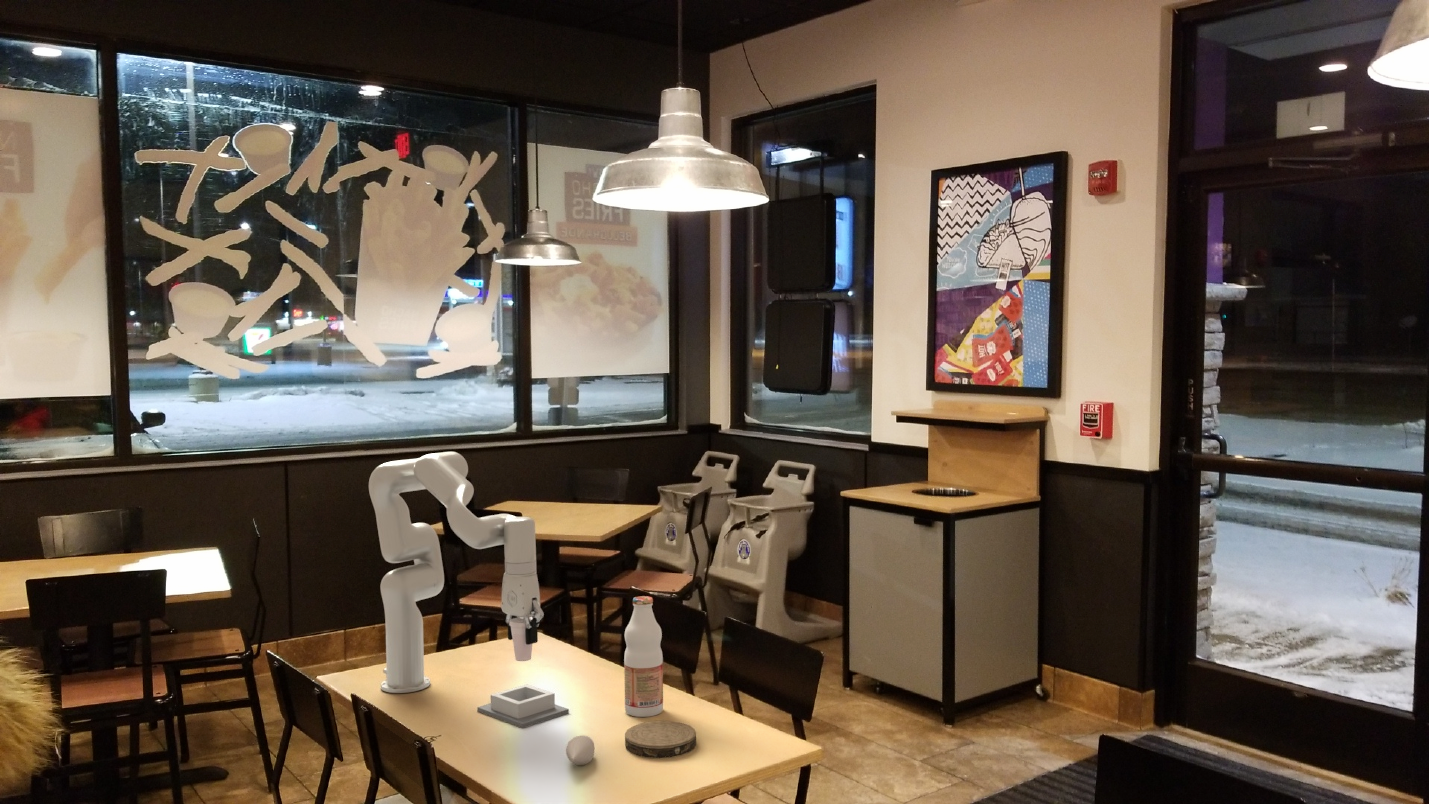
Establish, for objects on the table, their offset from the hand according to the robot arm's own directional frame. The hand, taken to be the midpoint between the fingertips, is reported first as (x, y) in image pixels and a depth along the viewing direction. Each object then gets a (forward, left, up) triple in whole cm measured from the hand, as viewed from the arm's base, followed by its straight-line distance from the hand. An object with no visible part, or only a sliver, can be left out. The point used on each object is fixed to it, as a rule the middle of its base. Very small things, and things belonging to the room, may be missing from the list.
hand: (522, 640), depth 262 cm
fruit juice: (+22, +20, -18) cm, 35 cm away
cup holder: (0, 0, -18) cm, 18 cm away
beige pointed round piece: (+37, -13, -18) cm, 43 cm away
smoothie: (0, 0, -5) cm, 5 cm away
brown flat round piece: (+41, +7, -18) cm, 45 cm away
